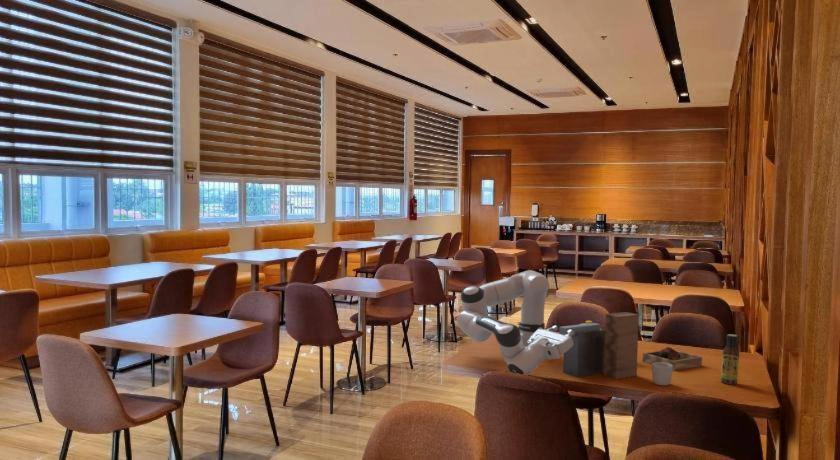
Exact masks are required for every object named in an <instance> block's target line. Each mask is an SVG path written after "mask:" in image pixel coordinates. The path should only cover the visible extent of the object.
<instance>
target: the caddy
mask: <svg viewBox="0 0 840 460" xmlns="http://www.w3.org/2000/svg"><path fill="white" fill-rule="evenodd" d="M674 350H675V351H676V352H678V353H679V354H680V355H681V356H680V360H677V358H676V357H674V356H672V355H670V353H669V357H668V358H667V359H665V358H661V357H657V356H658V354H659V352H660V351H661V350H656V351H650V352H644V353H642V363H645V364H649V365H652V363H654V362H663V363H669V364H671V365H673V369H672V372H674V371H680V370H684V369H691V368H697V367H702V365H703V356H700V355H696V354H692V353H687V352H684V351H679V350H676V349H674Z"/></svg>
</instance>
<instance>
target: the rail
mask: <svg viewBox="0 0 840 460" xmlns="http://www.w3.org/2000/svg"><path fill="white" fill-rule="evenodd" d="M600 328H601V324H600V323H595V322H592V323H589V324H583V323H580V325H579V324H573V325H565V326H563V325H562V326H559V327H558V333H559V334H563V335H566V334H568V332H567V331H569V330H573V332H574V334H573V335H572V336H575V335H577V333H578V332H587V331H595V330H600Z"/></svg>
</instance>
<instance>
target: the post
mask: <svg viewBox="0 0 840 460" xmlns="http://www.w3.org/2000/svg"><path fill="white" fill-rule="evenodd" d="M639 315H640V314H636V313H633V312H627V311H625V312H624V311H623V312H621V311H620V312H613V313H605V326H604V329H605V352H604V373H603V376H605V377H609V378H611V379H615V380H619V379H620V378H621V379H625V378H626V377H627V378H631V376H632V377H637V375H638V349H639V347H638V345H639V344H638V343H639V319H640V318H639V317H640V316H639ZM627 378H626V379H627Z"/></svg>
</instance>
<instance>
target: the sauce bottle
mask: <svg viewBox="0 0 840 460" xmlns="http://www.w3.org/2000/svg"><path fill="white" fill-rule="evenodd" d="M738 339H739V335H737V334H733V333H732V334H731V333H729V334H726V345H725V347H724V348H723V349H722V357H721V368H720V369H721V371H720V381H721V382H722V383H723V384H727V385H732V386H733V385H737V384H738V377H739V367H740V366H739V363H740V351H739V349H738Z"/></svg>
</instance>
